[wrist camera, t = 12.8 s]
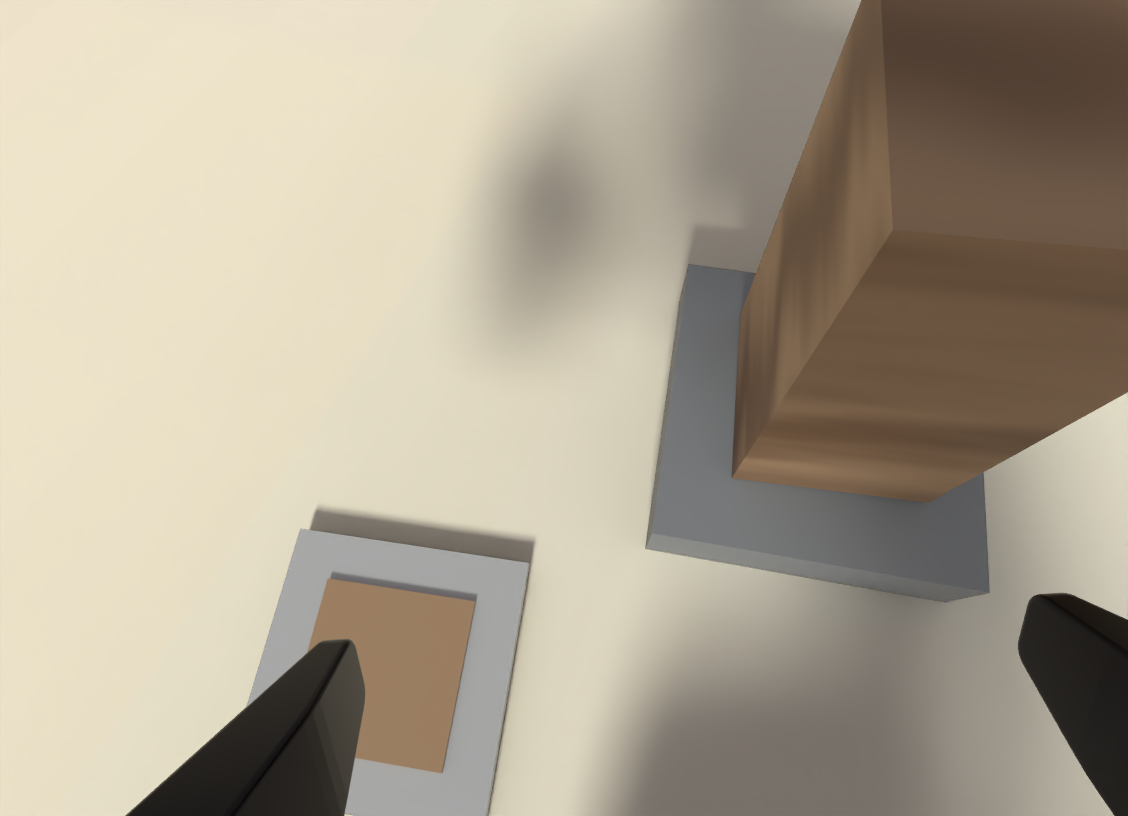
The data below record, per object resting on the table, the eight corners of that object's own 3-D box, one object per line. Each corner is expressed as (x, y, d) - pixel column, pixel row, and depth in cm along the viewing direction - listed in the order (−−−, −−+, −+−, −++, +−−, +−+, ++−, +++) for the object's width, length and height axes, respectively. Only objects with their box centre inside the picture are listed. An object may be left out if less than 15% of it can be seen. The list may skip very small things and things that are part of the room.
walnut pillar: (928, 502, 21) (1348, 269, 9) (731, 478, 21) (893, 229, 10) (917, 333, 23) (1243, -27, 11) (739, 315, 23) (879, -44, 12)
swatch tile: (484, 835, 20) (480, 841, 19) (229, 787, 20) (217, 791, 20) (529, 565, 23) (528, 562, 22) (306, 531, 23) (298, 527, 23)
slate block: (939, 603, 22) (989, 592, 20) (644, 550, 23) (652, 533, 21) (933, 343, 26) (974, 302, 23) (678, 306, 27) (688, 264, 24)
